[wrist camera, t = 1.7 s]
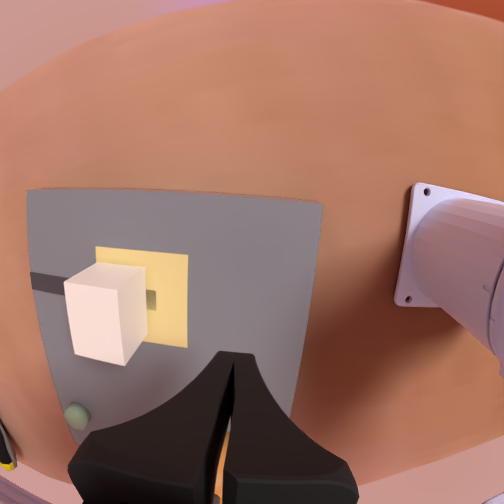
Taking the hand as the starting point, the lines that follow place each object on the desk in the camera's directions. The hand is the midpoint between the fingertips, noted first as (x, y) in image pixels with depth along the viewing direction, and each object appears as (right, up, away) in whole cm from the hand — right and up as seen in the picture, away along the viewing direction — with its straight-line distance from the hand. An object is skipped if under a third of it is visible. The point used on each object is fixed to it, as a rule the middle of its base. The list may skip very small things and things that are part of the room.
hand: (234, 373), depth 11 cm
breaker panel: (-5, -2, +10) cm, 11 cm away
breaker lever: (-7, +2, +6) cm, 9 cm away
